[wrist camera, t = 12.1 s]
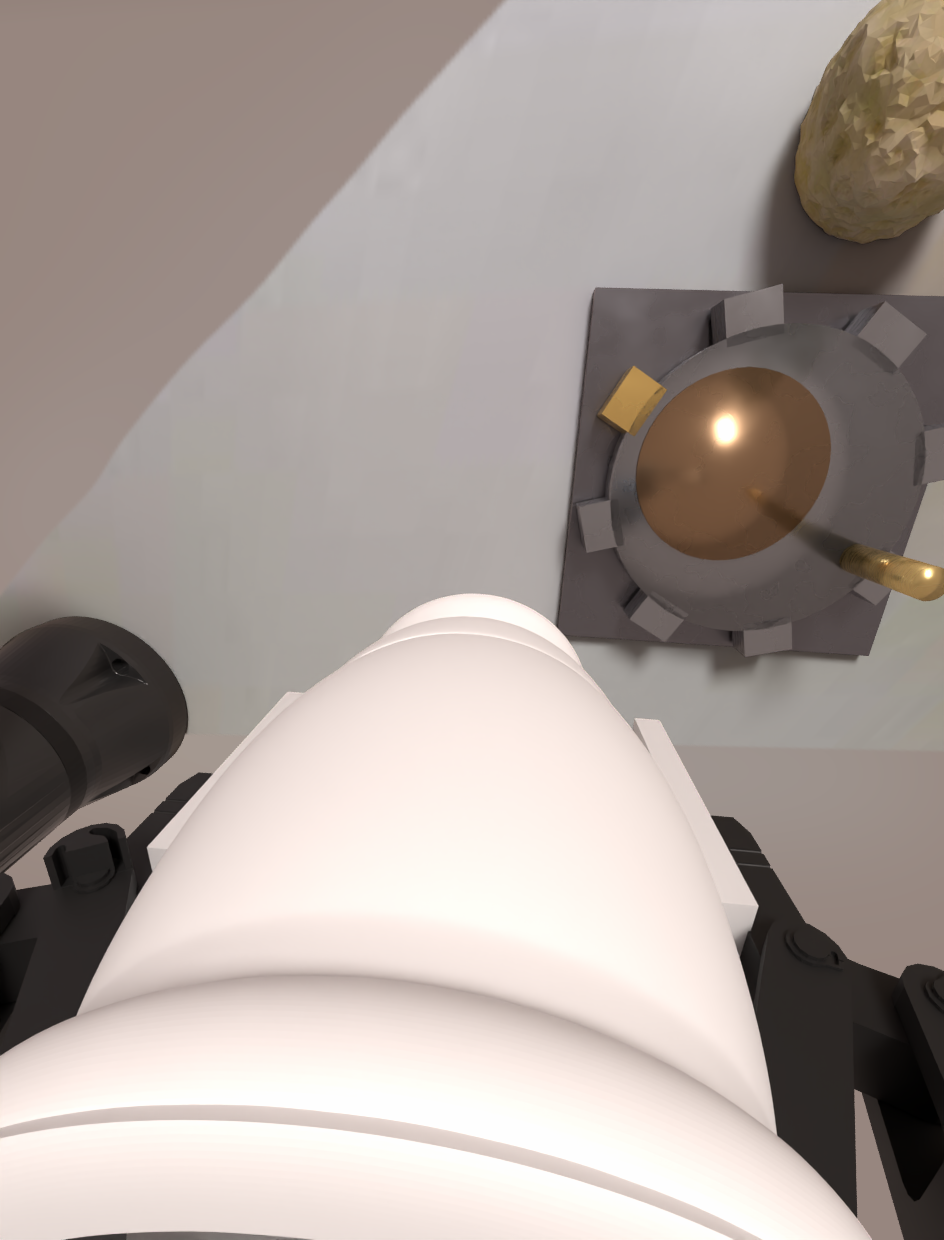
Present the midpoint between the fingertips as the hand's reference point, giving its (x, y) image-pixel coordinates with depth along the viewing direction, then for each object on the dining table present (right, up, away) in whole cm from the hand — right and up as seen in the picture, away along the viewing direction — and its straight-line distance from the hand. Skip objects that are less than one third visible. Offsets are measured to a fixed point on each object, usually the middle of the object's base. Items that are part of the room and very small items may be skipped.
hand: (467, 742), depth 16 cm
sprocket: (+18, +12, +16) cm, 27 cm away
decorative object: (+22, +30, +11) cm, 38 cm away
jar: (0, +1, +3) cm, 3 cm away
